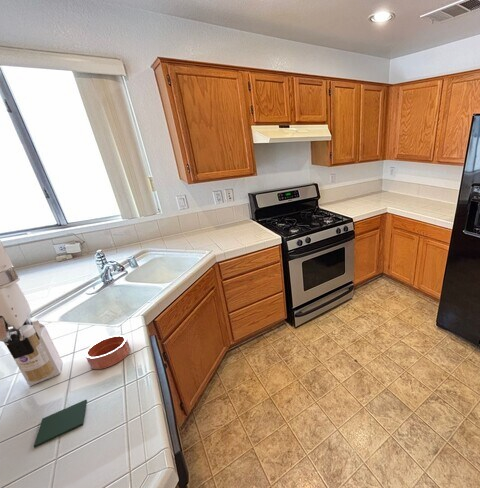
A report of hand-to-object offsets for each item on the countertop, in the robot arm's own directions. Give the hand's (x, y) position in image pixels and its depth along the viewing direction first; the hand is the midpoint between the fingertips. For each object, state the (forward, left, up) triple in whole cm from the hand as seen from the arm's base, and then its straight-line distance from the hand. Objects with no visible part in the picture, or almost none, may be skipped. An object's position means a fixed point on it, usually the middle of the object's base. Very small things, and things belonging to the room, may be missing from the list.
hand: (27, 348), depth 62 cm
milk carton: (-8, +26, -23) cm, 36 cm away
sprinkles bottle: (0, 0, -8) cm, 8 cm away
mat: (0, -1, -23) cm, 23 cm away
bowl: (+9, +21, -23) cm, 33 cm away
